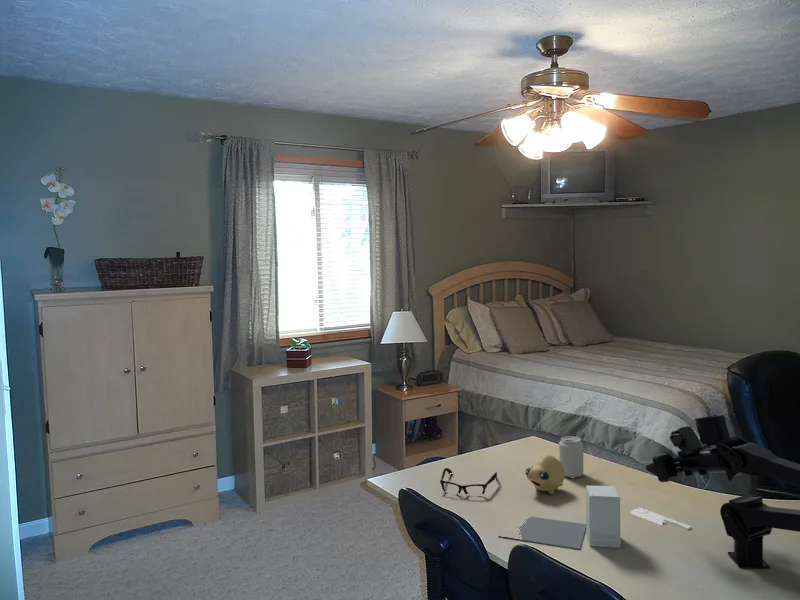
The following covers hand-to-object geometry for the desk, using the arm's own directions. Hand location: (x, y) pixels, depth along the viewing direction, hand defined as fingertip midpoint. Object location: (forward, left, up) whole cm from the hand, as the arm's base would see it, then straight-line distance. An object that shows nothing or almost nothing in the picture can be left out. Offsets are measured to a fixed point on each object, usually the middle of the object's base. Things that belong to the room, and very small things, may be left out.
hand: (658, 464), depth 157 cm
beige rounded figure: (+20, +27, -15) cm, 37 cm away
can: (+34, +17, -15) cm, 41 cm away
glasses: (+24, +50, -16) cm, 57 cm away
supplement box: (-11, +17, -15) cm, 26 cm away
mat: (-7, +31, -15) cm, 35 cm away
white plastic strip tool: (0, 0, -16) cm, 16 cm away
